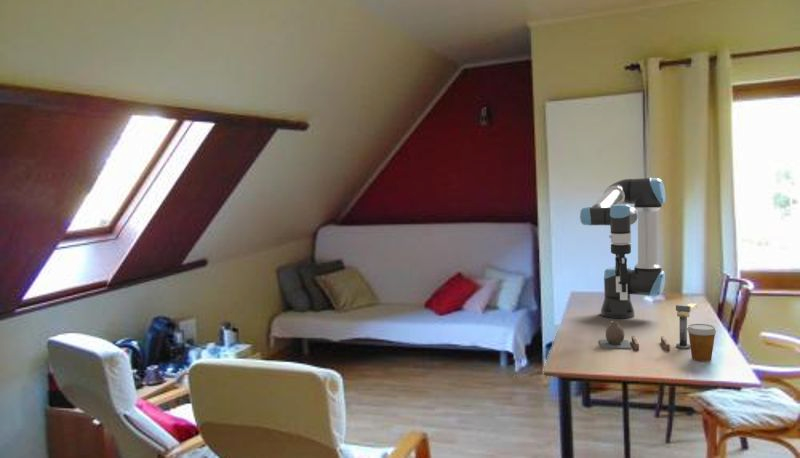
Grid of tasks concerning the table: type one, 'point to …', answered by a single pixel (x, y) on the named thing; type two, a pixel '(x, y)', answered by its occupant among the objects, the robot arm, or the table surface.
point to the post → (683, 334)
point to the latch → (685, 309)
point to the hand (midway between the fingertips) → (621, 295)
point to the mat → (607, 345)
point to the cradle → (663, 341)
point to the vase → (614, 333)
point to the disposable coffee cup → (701, 341)
